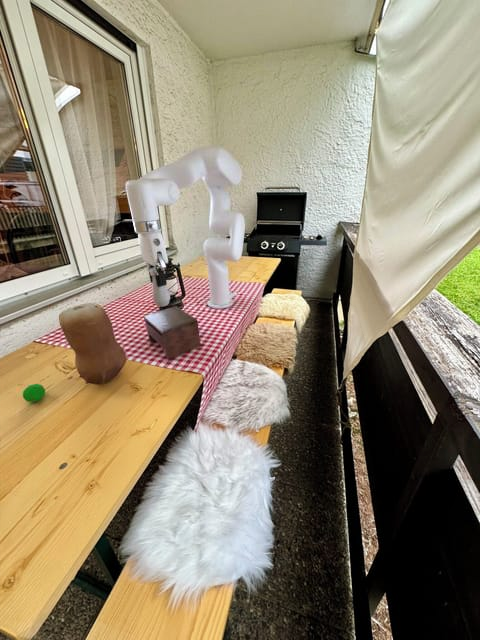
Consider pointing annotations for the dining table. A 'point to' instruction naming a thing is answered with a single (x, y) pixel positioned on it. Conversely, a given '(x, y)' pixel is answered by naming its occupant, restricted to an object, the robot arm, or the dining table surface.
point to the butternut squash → (92, 342)
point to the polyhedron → (33, 392)
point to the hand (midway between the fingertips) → (158, 283)
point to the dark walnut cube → (173, 331)
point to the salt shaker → (159, 291)
